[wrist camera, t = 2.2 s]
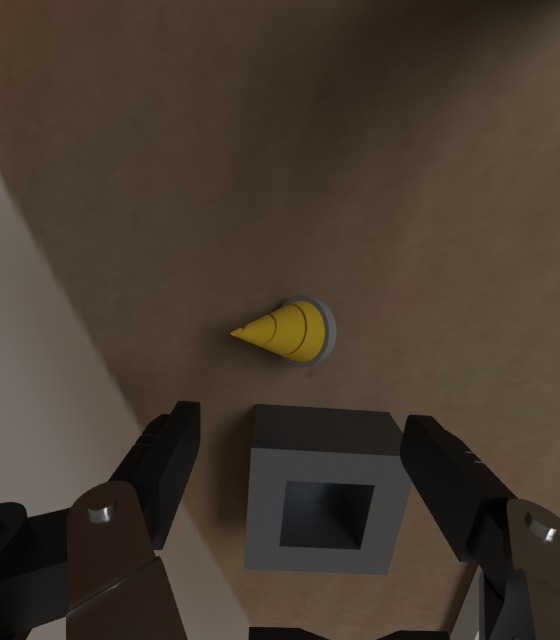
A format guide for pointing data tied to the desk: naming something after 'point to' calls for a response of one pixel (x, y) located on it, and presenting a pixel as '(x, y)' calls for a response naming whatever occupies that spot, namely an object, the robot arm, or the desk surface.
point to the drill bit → (295, 331)
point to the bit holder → (324, 490)
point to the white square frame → (469, 613)
